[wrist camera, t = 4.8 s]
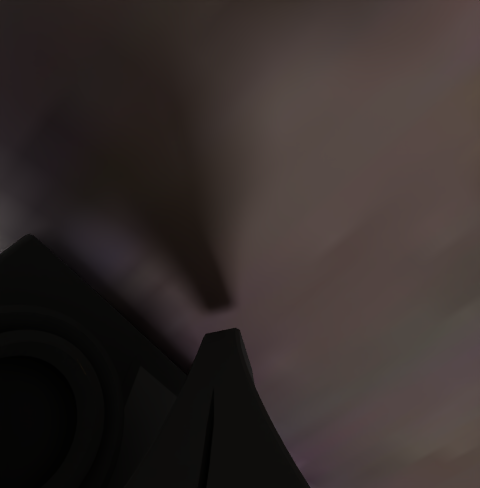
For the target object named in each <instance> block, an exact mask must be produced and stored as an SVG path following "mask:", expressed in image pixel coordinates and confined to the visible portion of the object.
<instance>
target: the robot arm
mask: <svg viewBox="0 0 480 488" xmlns="http://www.w3.org/2000/svg"><path fill="white" fill-rule="evenodd" d="M124 488H310V486H309V485H308V483H307V482H306V480H305V478H304V477H303V475H302V474H301V472H300V470H299V469H298V467H297V466H296V464H295V462H294V461H293V459H292V457H291V455H290V454H289V452H288V450H287V449H286V447H285V445H284V443H283V442H282V440H281V438H280V436H279V434H278V432H277V431H276V429H275V427H274V425H273V423H272V421H271V419H270V417H269V415H268V413H267V411H266V409H265V407H264V405H263V403H262V401H261V399H260V397H259V394H258V392H257V390H256V388H255V385H254V379H253V373H252V368H251V365H250V362H249V359H248V355H247V352H246V349H245V346H244V342H243V339H242V336H241V333H240V330H239V329H237V328H232V329H227V330H222V331H218V332H213V333H208V334H206V335H205V336H204V337H203V340H202V343H201V345H200V348H199V350H198V353H197V355H196V357H195V360H194V362H193V364H192V367H191V369H190V371H189V374H188V376H187V378H186V380H185V382H184V384H183V386H182V388H181V390H180V393H179V395H178V397H177V399H176V401H175V403H174V404H173V406H172V408H171V410H170V412H169V414H168V416H167V418H166V419H165V421H164V423H163V425H162V427H161V429H160V431H159V432H158V434H157V436H156V437H155V439H154V441H153V443H152V444H151V446H150V448H149V449H148V451H147V452H146V454H145V456H144V457H143V459H142V460H141V462H140V464H139V465H138V467H137V468H136V470H135V471H134V473H133V474H132V476H131V477H130V479H129V480H128V482H127V483H126V485H125V486H124Z"/></svg>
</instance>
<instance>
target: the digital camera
mask: <svg viewBox="0 0 480 488" xmlns="http://www.w3.org/2000/svg"><path fill="white" fill-rule="evenodd" d="M186 378H187V375H186V374H185V373H184V372H183V371H181V370H180V369H179V368H178V367H177V366H176V365H175V364H174V363H173V362H172V361H171V360H170V359H168V358H167V357H166V356H165V355H164V354H163V353H162V352H161V351H160V350H159V349H158V348H157V347H155V346H154V345H153V344H152V343H151V342H150V341H149V340H148V339H147V338H146V337H145V336H144V335H142V334H141V333H140V332H139V331H138V330H137V329H136V328H135V327H134V326H133V325H132V324H131V323H129V322H128V321H127V320H126V319H125V318H124V317H123V316H122V315H121V314H120V313H119V312H118V311H116V310H115V309H114V308H113V307H112V306H111V305H110V304H109V303H108V302H106V301H105V300H104V299H103V298H102V297H101V296H100V295H99V294H98V293H97V292H95V291H94V290H93V289H92V288H91V287H90V286H89V285H88V284H87V283H85V282H84V281H83V280H82V279H81V278H80V277H79V276H78V275H77V274H76V273H74V272H73V271H72V270H71V269H70V268H69V267H68V266H67V265H66V264H65V263H63V262H62V261H61V260H60V259H59V258H58V257H57V256H56V255H55V254H53V253H52V252H51V251H50V250H49V249H48V248H47V247H46V246H45V245H44V244H42V243H41V242H40V241H39V240H38V239H37V238H36V237H35V236H34V235H30V234H28V235H26V236H24V237H22V238H21V239H20V240H18V241H17V242H16V243H14V244H13V245H12V246H10V247H9V248H8V249H6V250H5V251H4V252H2V253H1V254H0V488H124V486H125V485H126V483H127V482H128V480H129V479H130V477H131V476H132V474H133V473H134V471H135V470H136V468H137V467H138V465H139V464H140V462H141V460H142V459H143V457H144V456H145V454H146V452H147V451H148V449H149V448H150V446H151V444H152V443H153V441H154V439H155V437H156V436H157V434H158V432H159V431H160V429H161V427H162V425H163V423H164V421H165V419H166V418H167V416H168V414H169V412H170V410H171V408H172V406H173V404H174V403H175V401H176V399H177V397H178V395H179V393H180V390H181V388H182V386H183V384H184V382H185V380H186Z"/></svg>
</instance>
